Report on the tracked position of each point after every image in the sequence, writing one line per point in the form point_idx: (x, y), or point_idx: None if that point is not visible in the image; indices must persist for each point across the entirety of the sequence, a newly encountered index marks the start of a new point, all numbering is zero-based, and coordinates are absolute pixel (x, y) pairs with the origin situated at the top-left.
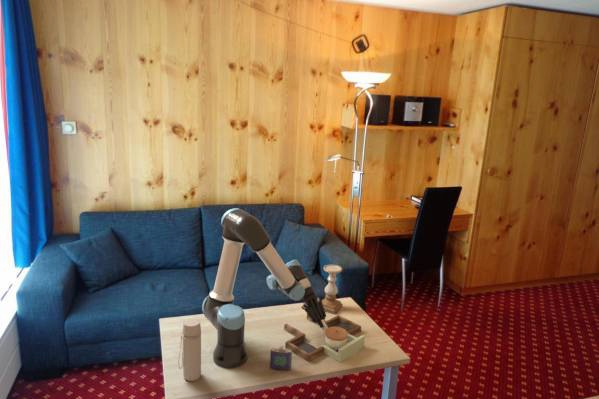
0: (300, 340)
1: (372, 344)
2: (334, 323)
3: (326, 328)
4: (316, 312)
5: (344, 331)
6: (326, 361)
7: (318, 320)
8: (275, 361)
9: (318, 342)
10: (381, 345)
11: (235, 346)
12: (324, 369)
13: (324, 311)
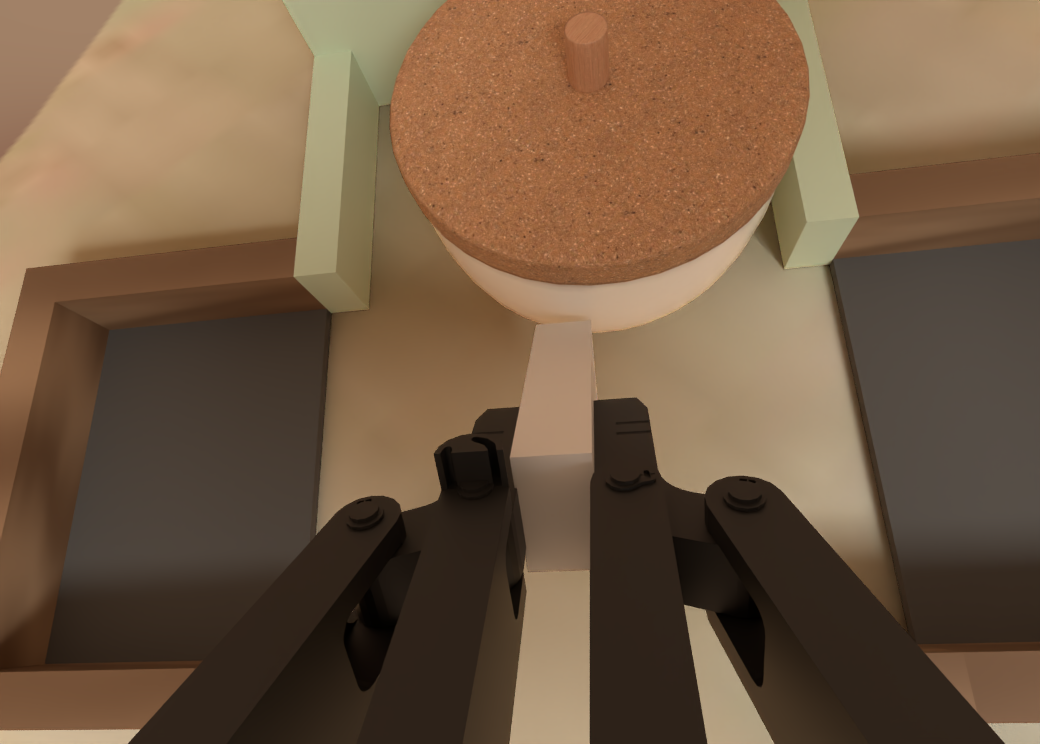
0: (995, 644)
1: (239, 76)
2: (133, 660)
3: (574, 353)
4: (635, 663)
5: (456, 38)
6: (909, 98)
7: (670, 497)
8: None
9: (710, 449)
10: (196, 27)
11: None
12: (1035, 10)
13: (277, 599)
